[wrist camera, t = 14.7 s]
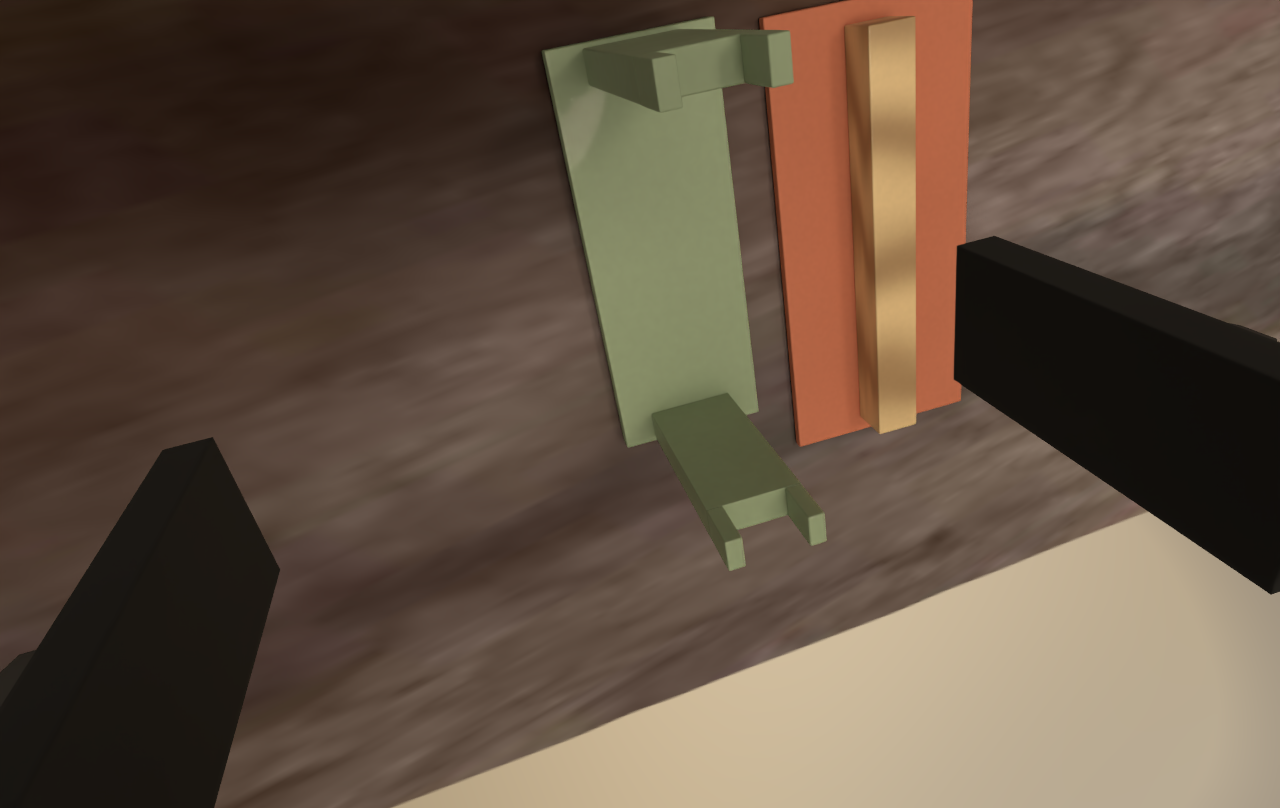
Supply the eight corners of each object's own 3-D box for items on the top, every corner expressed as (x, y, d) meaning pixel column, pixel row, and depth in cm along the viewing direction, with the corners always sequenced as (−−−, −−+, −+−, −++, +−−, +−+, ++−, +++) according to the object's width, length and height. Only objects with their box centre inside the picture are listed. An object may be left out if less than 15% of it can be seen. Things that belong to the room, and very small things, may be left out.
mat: (758, 18, 37) (763, 18, 36) (966, -25, 38) (973, -26, 38) (796, 442, 48) (800, 447, 48) (955, 397, 49) (961, 401, 49)
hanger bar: (843, 25, 37) (868, 25, 35) (889, 15, 38) (916, 15, 35) (859, 416, 48) (879, 434, 46) (895, 406, 48) (916, 424, 46)
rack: (541, 50, 35) (596, 63, 23) (707, 16, 36) (840, 12, 24) (624, 439, 45) (692, 586, 33) (752, 404, 46) (863, 534, 34)
